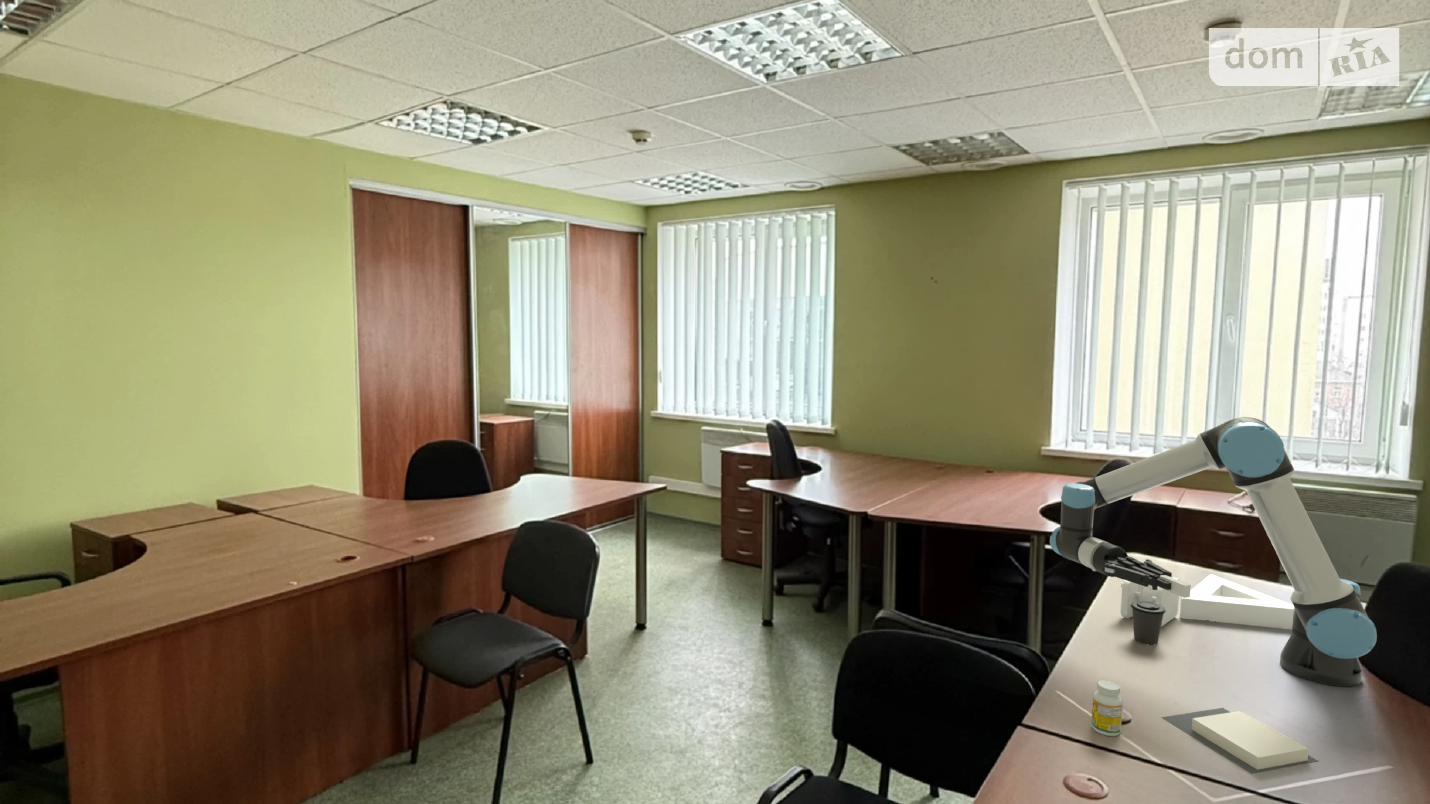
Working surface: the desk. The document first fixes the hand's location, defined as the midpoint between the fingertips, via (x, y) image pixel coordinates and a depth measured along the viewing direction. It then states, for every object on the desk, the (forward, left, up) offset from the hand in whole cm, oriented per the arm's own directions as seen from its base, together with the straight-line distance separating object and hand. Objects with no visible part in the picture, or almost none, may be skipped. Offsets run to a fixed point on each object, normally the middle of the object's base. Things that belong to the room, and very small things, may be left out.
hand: (1187, 591), depth 158 cm
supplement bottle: (+17, +15, -26) cm, 35 cm away
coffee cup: (-3, -35, -26) cm, 44 cm away
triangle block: (-31, -68, -27) cm, 79 cm away
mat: (-7, +12, -26) cm, 29 cm away
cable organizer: (-8, -52, -26) cm, 59 cm away
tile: (-4, +8, -24) cm, 26 cm away
